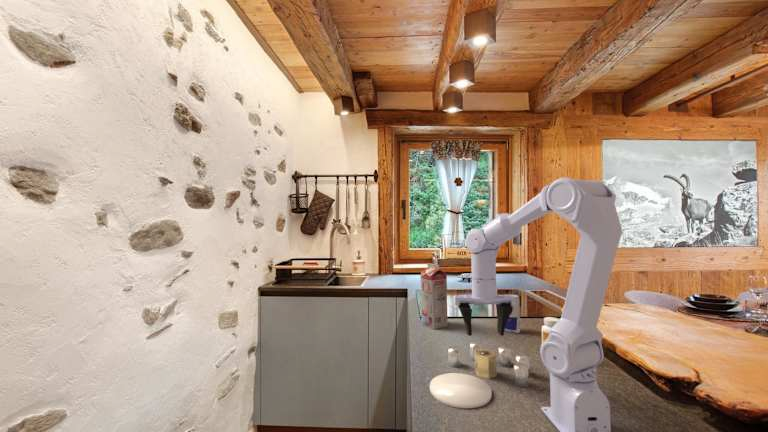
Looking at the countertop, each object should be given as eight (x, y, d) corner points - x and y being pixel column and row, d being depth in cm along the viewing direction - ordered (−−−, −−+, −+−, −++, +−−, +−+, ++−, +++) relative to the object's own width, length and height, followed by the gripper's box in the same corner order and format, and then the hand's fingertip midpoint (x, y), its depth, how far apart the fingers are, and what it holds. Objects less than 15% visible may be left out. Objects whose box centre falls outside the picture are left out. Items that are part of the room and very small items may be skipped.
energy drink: (499, 330, 107) (498, 294, 107) (511, 327, 109) (510, 293, 109) (512, 335, 102) (511, 298, 102) (523, 332, 104) (522, 296, 104)
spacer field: (542, 387, 69) (541, 368, 69) (458, 387, 69) (458, 369, 69) (512, 356, 85) (512, 341, 86) (445, 356, 86) (444, 341, 86)
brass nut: (498, 378, 73) (497, 356, 73) (479, 378, 73) (479, 356, 73) (491, 368, 78) (490, 348, 78) (473, 368, 78) (473, 348, 78)
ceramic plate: (500, 408, 61) (500, 404, 61) (434, 408, 61) (434, 404, 61) (481, 376, 74) (481, 373, 74) (426, 376, 74) (426, 373, 74)
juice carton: (432, 329, 108) (431, 265, 109) (421, 324, 114) (420, 263, 115) (447, 326, 111) (446, 264, 112) (435, 321, 117) (434, 262, 118)
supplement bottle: (567, 359, 83) (566, 322, 83) (545, 357, 84) (544, 321, 85) (560, 351, 88) (559, 316, 89) (539, 350, 89) (538, 315, 90)
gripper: (507, 275, 80) (508, 328, 80) (450, 275, 81) (451, 328, 80) (518, 280, 73) (520, 338, 73) (456, 280, 73) (457, 338, 73)
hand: (484, 334), depth 76 cm, fingers open, 7 cm apart
